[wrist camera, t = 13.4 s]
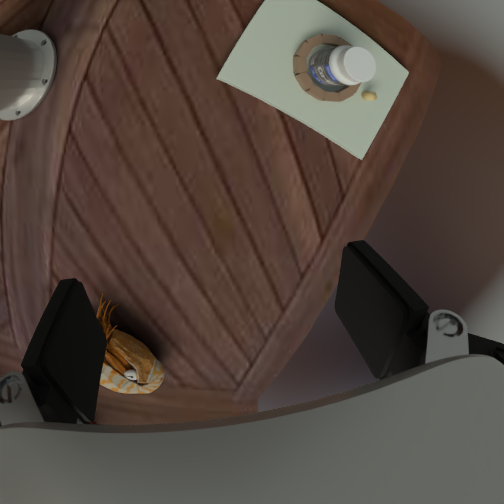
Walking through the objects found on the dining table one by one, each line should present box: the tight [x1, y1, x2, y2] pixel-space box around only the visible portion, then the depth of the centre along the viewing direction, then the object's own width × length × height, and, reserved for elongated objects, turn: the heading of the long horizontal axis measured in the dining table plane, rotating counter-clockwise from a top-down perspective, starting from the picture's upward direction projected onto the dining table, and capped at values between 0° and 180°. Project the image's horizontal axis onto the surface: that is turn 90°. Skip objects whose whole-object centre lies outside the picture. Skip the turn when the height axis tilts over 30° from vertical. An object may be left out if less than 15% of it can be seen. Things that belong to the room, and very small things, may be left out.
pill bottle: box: [309, 45, 376, 85], centre depth 27 cm, size 5×5×8 cm
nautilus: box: [96, 293, 165, 393], centre depth 43 cm, size 8×22×15 cm
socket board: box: [216, 0, 409, 160], centre depth 30 cm, size 22×16×3 cm
